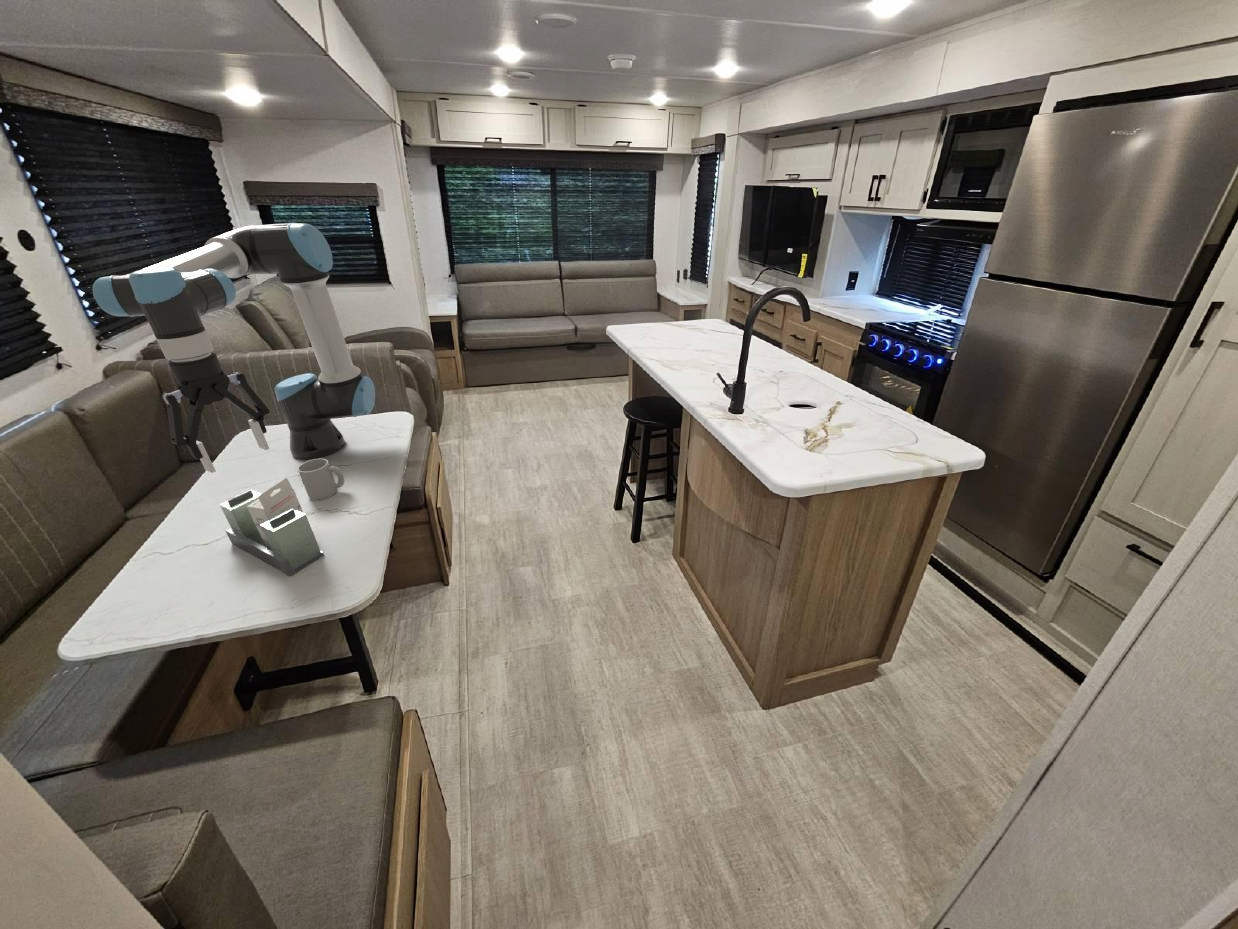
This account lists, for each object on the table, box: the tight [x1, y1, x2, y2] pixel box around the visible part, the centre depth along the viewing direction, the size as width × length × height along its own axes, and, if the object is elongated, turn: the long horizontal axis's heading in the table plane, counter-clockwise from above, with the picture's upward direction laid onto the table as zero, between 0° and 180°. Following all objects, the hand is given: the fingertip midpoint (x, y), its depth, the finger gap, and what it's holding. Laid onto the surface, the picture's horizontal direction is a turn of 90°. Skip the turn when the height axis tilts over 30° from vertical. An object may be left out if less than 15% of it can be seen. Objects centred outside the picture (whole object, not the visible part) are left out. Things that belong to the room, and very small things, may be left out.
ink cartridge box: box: [247, 478, 304, 549], centre depth 119 cm, size 9×5×15 cm, turn 166°
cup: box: [297, 458, 345, 501], centre depth 140 cm, size 7×10×9 cm
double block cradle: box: [219, 489, 325, 577], centre depth 118 cm, size 8×24×12 cm, turn 59°
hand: (238, 459), depth 109 cm, fingers open, 10 cm apart
